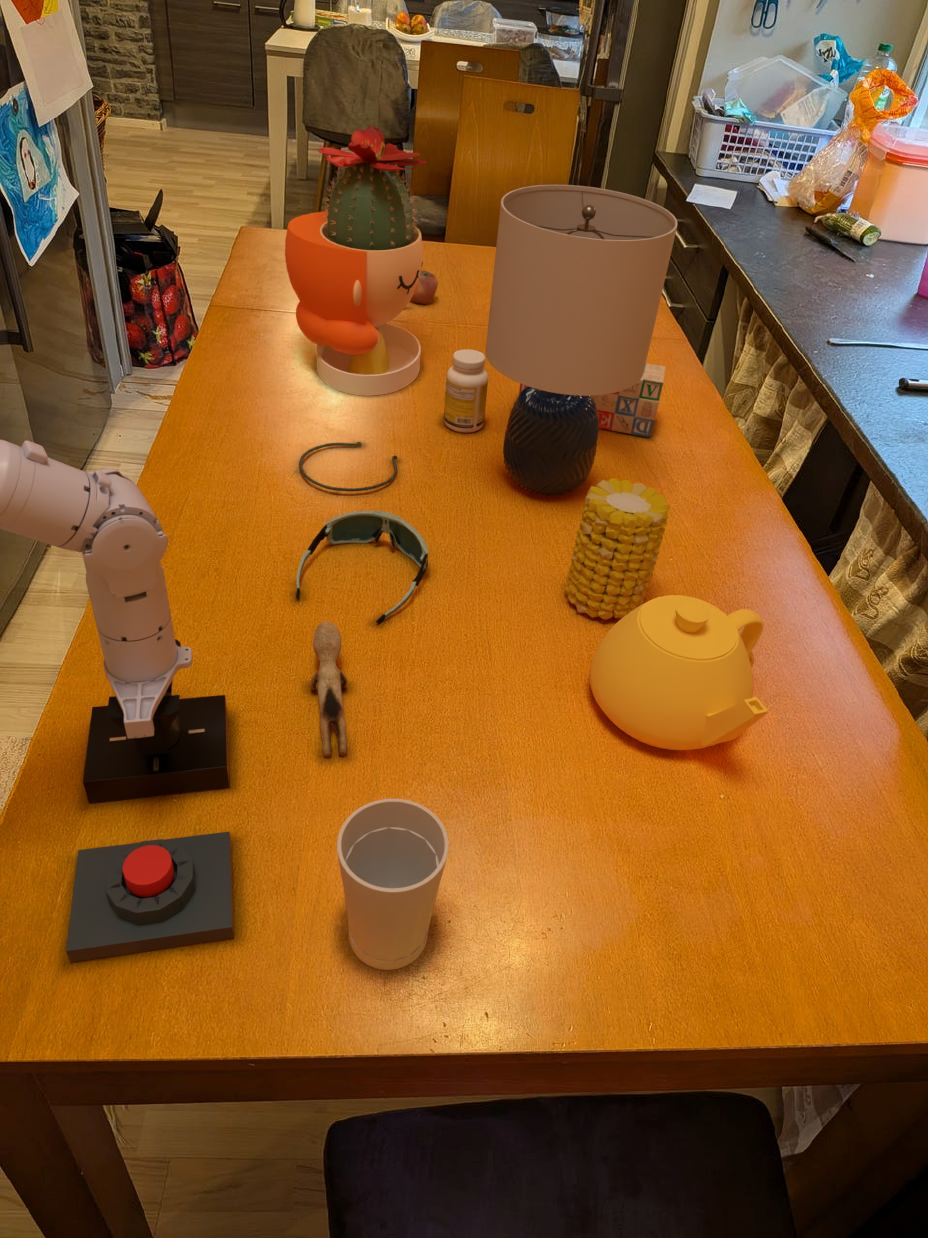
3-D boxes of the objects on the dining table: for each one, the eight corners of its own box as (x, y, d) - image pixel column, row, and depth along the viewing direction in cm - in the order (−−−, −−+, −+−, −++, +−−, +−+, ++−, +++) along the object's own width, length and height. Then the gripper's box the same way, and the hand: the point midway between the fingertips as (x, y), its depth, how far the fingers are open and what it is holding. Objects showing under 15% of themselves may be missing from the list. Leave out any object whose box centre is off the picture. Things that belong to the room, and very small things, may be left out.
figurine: (353, 765, 87) (342, 639, 96) (354, 743, 83) (342, 614, 92) (315, 769, 86) (307, 641, 95) (314, 746, 83) (306, 616, 91)
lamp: (470, 515, 118) (501, 223, 94) (473, 439, 134) (501, 172, 110) (622, 528, 119) (692, 242, 95) (608, 451, 134) (665, 188, 110)
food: (554, 619, 106) (585, 579, 113) (651, 638, 100) (677, 594, 108) (548, 501, 98) (582, 466, 105) (653, 514, 92) (681, 476, 100)
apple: (400, 306, 170) (401, 275, 166) (410, 292, 176) (412, 261, 172) (430, 312, 169) (432, 280, 165) (440, 297, 175) (442, 266, 171)
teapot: (557, 667, 97) (577, 574, 89) (700, 631, 104) (730, 541, 95) (659, 808, 84) (693, 714, 75) (815, 756, 90) (862, 664, 82)
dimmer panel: (89, 804, 79) (82, 781, 77) (97, 728, 85) (91, 705, 83) (229, 788, 81) (226, 765, 79) (227, 716, 88) (224, 693, 86)
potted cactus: (427, 345, 157) (440, 123, 135) (408, 403, 140) (419, 160, 118) (307, 330, 158) (299, 106, 135) (273, 386, 141) (258, 141, 118)
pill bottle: (469, 411, 140) (475, 343, 133) (491, 429, 136) (499, 360, 129) (435, 419, 137) (440, 350, 130) (456, 437, 134) (463, 367, 126)
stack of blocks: (653, 420, 143) (671, 347, 135) (650, 439, 138) (668, 363, 130) (522, 396, 146) (532, 322, 138) (515, 413, 141) (525, 338, 133)
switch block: (70, 963, 68) (60, 938, 65) (82, 862, 74) (73, 836, 72) (233, 938, 70) (229, 914, 68) (231, 843, 77) (227, 818, 75)
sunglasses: (442, 556, 110) (442, 526, 107) (394, 641, 101) (393, 611, 97) (338, 527, 113) (335, 496, 110) (281, 606, 104) (276, 576, 100)
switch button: (124, 900, 68) (120, 888, 67) (127, 861, 71) (124, 848, 70) (173, 894, 69) (170, 881, 68) (174, 855, 72) (172, 842, 71)
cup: (347, 990, 68) (347, 902, 60) (330, 899, 74) (328, 807, 66) (449, 968, 70) (461, 880, 62) (425, 880, 76) (433, 790, 68)
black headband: (415, 467, 126) (416, 461, 125) (355, 507, 117) (355, 501, 116) (341, 435, 131) (341, 429, 130) (278, 470, 122) (278, 464, 121)
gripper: (183, 676, 68) (202, 790, 76) (186, 561, 78) (203, 672, 87) (84, 684, 66) (115, 800, 75) (101, 566, 77) (126, 679, 86)
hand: (157, 732), depth 81 cm, fingers closed on dimmer knob, 4 cm apart
